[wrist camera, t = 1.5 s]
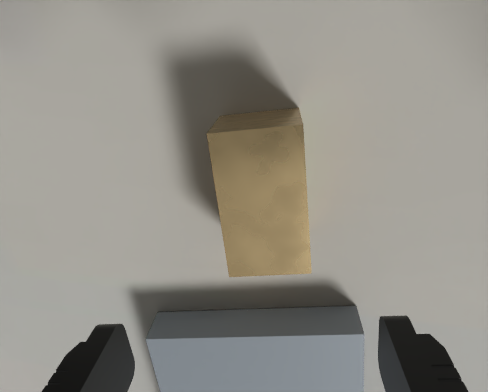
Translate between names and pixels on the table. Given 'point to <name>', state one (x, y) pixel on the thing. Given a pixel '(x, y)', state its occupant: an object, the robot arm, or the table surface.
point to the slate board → (259, 350)
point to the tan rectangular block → (262, 192)
